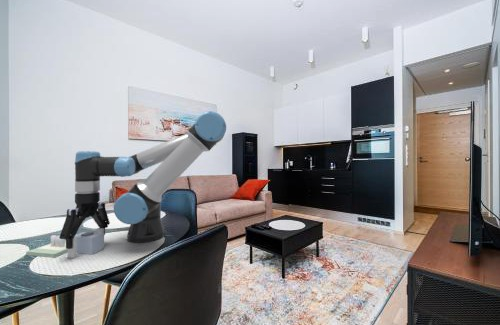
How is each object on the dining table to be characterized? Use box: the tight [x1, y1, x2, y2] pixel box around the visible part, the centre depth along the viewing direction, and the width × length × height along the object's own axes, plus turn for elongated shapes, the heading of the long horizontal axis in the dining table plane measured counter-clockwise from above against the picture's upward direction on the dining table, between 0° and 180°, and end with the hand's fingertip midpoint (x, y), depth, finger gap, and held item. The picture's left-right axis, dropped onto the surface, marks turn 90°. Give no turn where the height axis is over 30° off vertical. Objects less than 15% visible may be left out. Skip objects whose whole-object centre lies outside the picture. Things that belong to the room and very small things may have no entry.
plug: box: [74, 231, 104, 255], centre depth 82 cm, size 9×5×7 cm, turn 81°
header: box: [25, 234, 68, 258], centre depth 83 cm, size 12×12×5 cm
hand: (87, 250), depth 82 cm, fingers open, 11 cm apart
